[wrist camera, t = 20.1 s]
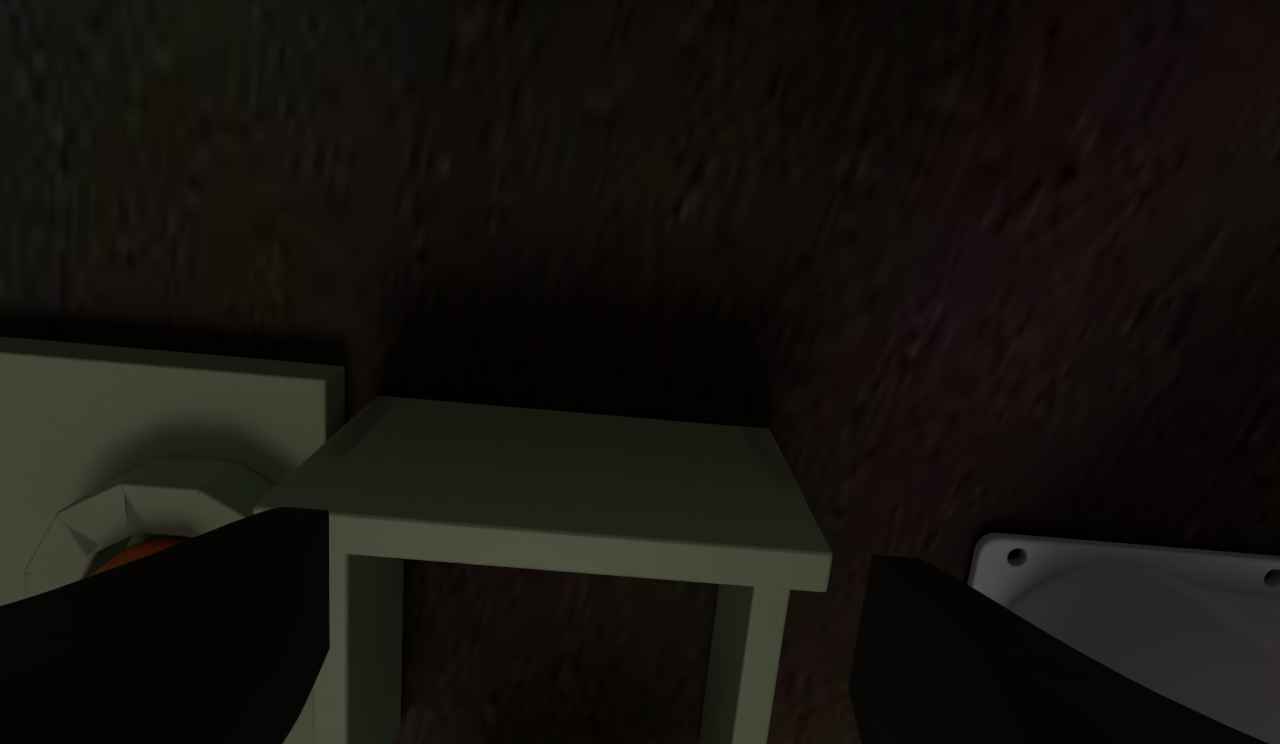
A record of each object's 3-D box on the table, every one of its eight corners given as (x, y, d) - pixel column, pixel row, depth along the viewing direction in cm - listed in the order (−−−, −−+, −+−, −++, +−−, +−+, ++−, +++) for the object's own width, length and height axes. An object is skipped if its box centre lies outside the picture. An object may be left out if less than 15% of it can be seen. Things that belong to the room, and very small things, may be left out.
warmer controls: (355, 366, 20) (306, 402, 17) (354, 734, 23) (310, 822, 20) (-14, 334, 20) (-132, 364, 17) (28, 709, 23) (-67, 795, 20)
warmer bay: (769, 428, 21) (834, 553, 14) (725, 746, 23) (762, 984, 17) (377, 394, 21) (250, 506, 14) (373, 720, 23) (264, 951, 16)
